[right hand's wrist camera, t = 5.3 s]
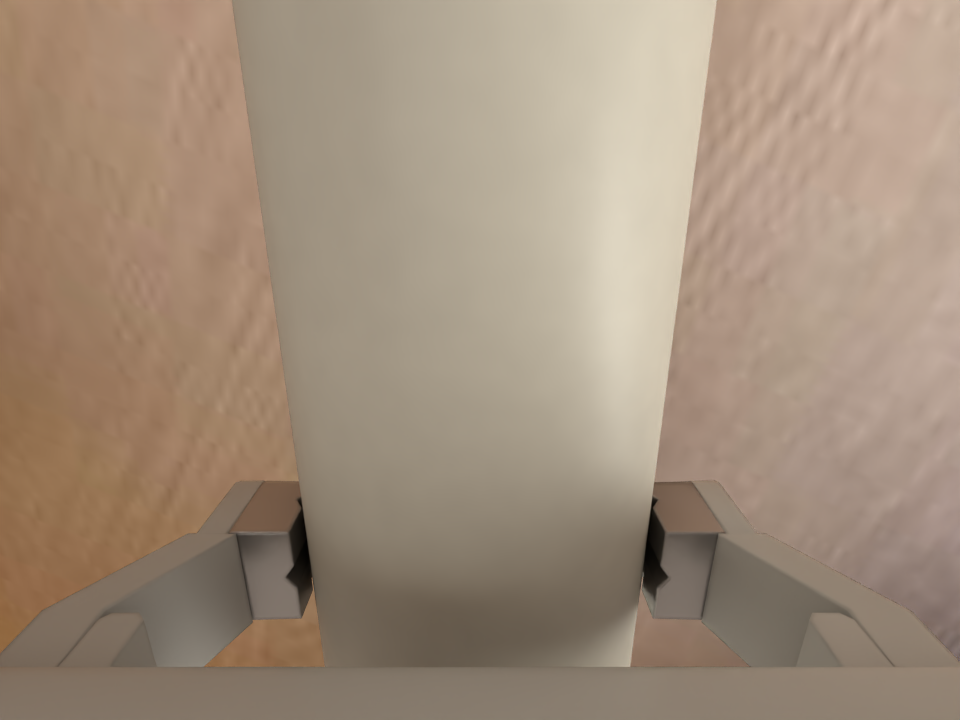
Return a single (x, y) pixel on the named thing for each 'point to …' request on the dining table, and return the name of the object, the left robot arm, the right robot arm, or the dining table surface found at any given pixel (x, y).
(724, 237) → the dining table surface
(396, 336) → the rod
